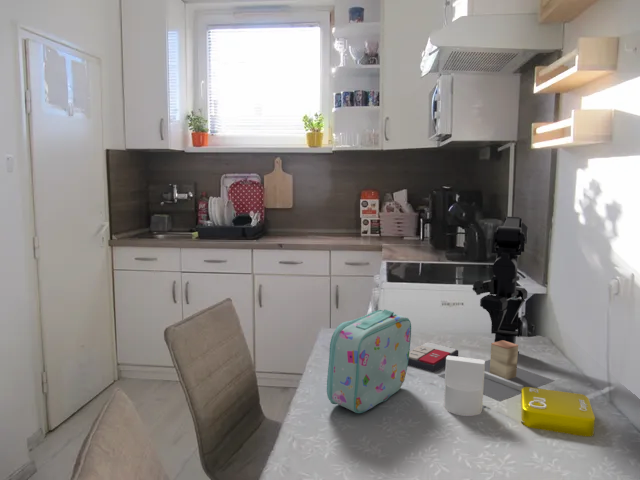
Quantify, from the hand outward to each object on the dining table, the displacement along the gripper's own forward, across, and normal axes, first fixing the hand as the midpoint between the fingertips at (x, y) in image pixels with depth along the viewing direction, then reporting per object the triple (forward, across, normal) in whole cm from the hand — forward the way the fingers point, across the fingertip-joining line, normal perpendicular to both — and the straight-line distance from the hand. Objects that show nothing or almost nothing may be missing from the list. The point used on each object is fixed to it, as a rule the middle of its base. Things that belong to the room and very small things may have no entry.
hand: (502, 327), depth 156 cm
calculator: (+14, +7, -18) cm, 24 cm away
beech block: (+12, +4, +3) cm, 13 cm away
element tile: (+13, +19, +22) cm, 32 cm away
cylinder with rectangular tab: (+13, +29, +3) cm, 32 cm away
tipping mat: (+13, +7, +2) cm, 15 cm away
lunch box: (+13, +40, -17) cm, 45 cm away
